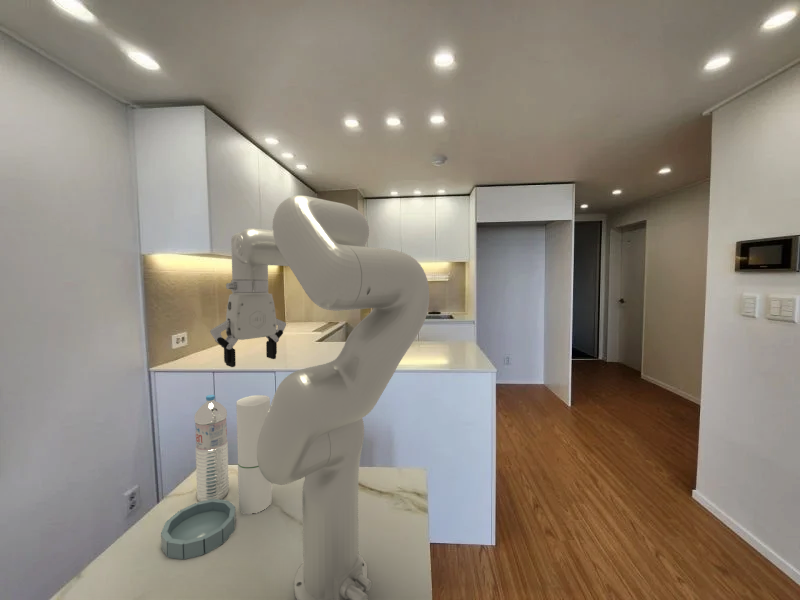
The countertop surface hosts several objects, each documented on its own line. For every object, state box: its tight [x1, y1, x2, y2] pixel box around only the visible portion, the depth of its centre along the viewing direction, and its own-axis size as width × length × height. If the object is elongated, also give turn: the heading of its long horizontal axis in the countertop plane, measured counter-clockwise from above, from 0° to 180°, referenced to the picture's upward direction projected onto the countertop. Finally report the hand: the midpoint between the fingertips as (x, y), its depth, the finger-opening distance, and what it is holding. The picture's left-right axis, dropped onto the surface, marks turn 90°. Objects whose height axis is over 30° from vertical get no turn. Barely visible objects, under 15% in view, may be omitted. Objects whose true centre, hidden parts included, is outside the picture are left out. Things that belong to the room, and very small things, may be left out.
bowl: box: [160, 499, 237, 560], centre depth 71 cm, size 13×13×3 cm
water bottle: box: [193, 394, 230, 502], centre depth 82 cm, size 7×7×25 cm
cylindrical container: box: [235, 394, 273, 515], centre depth 79 cm, size 7×7×25 cm
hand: (251, 361), depth 78 cm, fingers open, 9 cm apart
